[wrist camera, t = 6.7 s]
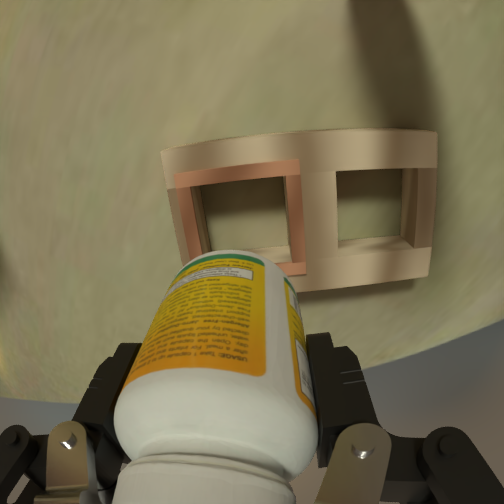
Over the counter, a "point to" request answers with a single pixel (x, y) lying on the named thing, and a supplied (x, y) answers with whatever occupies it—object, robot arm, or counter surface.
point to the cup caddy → (315, 199)
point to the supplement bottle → (219, 390)
